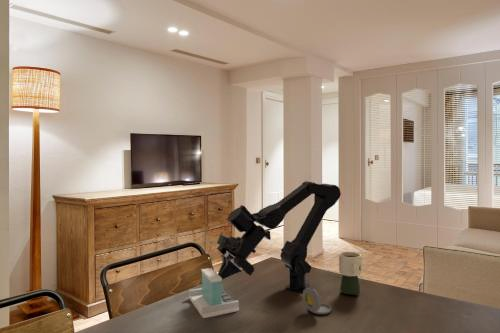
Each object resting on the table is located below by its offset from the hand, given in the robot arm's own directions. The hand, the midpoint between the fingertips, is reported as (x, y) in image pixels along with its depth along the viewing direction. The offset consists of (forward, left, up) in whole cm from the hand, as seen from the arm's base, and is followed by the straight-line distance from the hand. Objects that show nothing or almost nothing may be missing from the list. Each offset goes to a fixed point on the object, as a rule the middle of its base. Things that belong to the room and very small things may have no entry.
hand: (216, 280), depth 112 cm
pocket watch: (-10, +29, -8) cm, 31 cm away
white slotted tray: (+1, 0, -7) cm, 7 cm away
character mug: (-28, +34, -8) cm, 44 cm away
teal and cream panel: (+1, -1, -6) cm, 6 cm away
